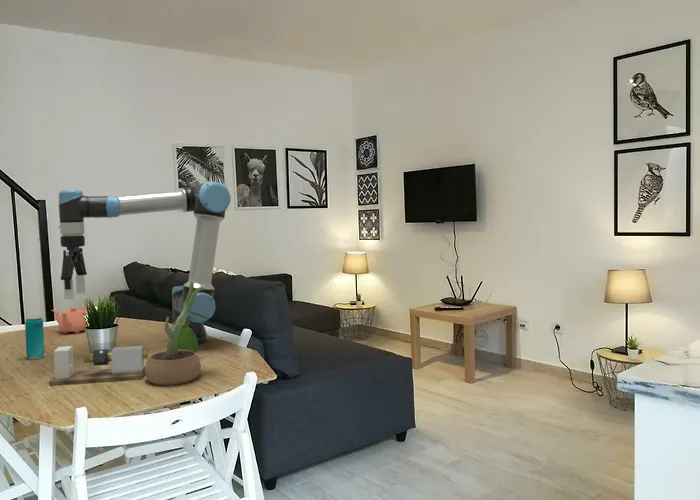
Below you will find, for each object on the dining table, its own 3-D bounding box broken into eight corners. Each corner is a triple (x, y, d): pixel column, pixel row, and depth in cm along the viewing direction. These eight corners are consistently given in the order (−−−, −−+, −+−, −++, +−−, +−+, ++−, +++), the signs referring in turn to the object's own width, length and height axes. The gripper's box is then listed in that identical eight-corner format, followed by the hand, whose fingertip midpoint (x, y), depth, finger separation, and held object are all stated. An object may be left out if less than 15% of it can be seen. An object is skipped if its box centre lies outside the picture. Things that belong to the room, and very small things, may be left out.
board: (147, 369, 189) (147, 366, 189) (142, 379, 178) (142, 375, 178) (59, 375, 183) (59, 372, 183) (49, 385, 173) (49, 381, 172)
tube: (148, 360, 186) (148, 345, 186) (146, 364, 181) (146, 348, 181) (86, 364, 182) (86, 348, 182) (82, 368, 177) (82, 352, 177)
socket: (74, 376, 182) (72, 346, 181) (69, 382, 176) (67, 350, 175) (60, 377, 181) (59, 346, 180) (55, 383, 175) (53, 351, 175)
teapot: (63, 336, 243) (61, 311, 242) (52, 332, 253) (50, 307, 252) (97, 331, 253) (96, 307, 252) (85, 327, 263) (84, 303, 263)
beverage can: (48, 356, 208) (46, 316, 207) (33, 360, 203) (31, 319, 202) (37, 355, 211) (35, 315, 210) (23, 359, 205) (21, 318, 204)
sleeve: (144, 368, 186) (143, 345, 185) (142, 372, 181) (141, 349, 181) (115, 370, 184) (114, 347, 184) (112, 374, 179) (111, 350, 179)
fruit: (186, 355, 209) (185, 322, 208) (202, 357, 205) (201, 324, 204) (170, 360, 202) (169, 326, 201) (186, 362, 198) (185, 328, 197)
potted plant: (160, 391, 166) (157, 289, 164) (136, 378, 179) (132, 284, 178) (228, 375, 181) (226, 282, 179) (201, 365, 195) (198, 278, 193)
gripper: (71, 234, 207) (74, 291, 209) (48, 236, 183) (51, 302, 184) (93, 233, 209) (96, 290, 210) (73, 236, 184) (76, 301, 186)
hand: (75, 296), depth 197 cm, fingers open, 13 cm apart
